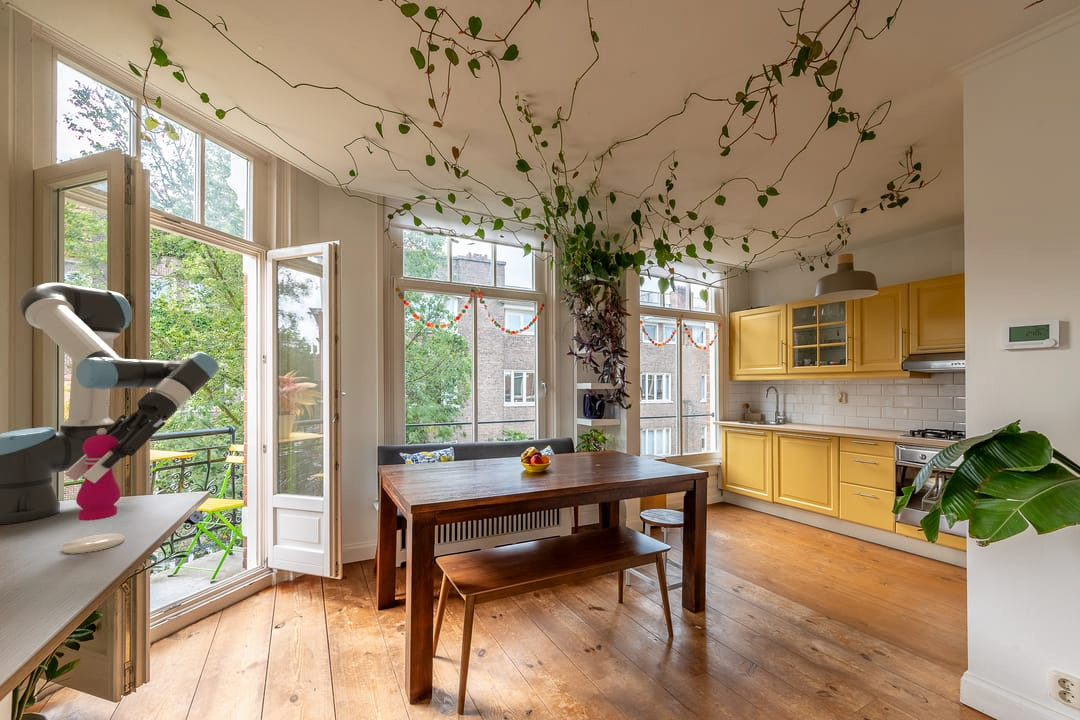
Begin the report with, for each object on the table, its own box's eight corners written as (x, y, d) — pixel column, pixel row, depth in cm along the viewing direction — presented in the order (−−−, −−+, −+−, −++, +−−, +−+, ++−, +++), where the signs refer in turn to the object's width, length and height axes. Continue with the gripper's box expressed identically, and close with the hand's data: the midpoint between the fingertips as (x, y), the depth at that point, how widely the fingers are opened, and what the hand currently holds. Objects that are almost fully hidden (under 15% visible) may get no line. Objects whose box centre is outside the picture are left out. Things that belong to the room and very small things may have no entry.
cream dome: (88, 538, 107) (88, 534, 107) (135, 536, 108) (135, 532, 108) (48, 554, 97) (48, 549, 97) (100, 552, 98) (100, 548, 98)
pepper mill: (128, 512, 106) (132, 426, 107) (95, 522, 99) (99, 429, 100) (100, 511, 107) (104, 426, 108) (65, 521, 100) (70, 429, 101)
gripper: (200, 411, 115) (121, 491, 99) (150, 409, 121) (67, 484, 105) (179, 390, 111) (92, 471, 94) (127, 389, 117) (37, 465, 100)
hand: (79, 478), depth 100 cm, fingers closed on pepper mill, 6 cm apart
